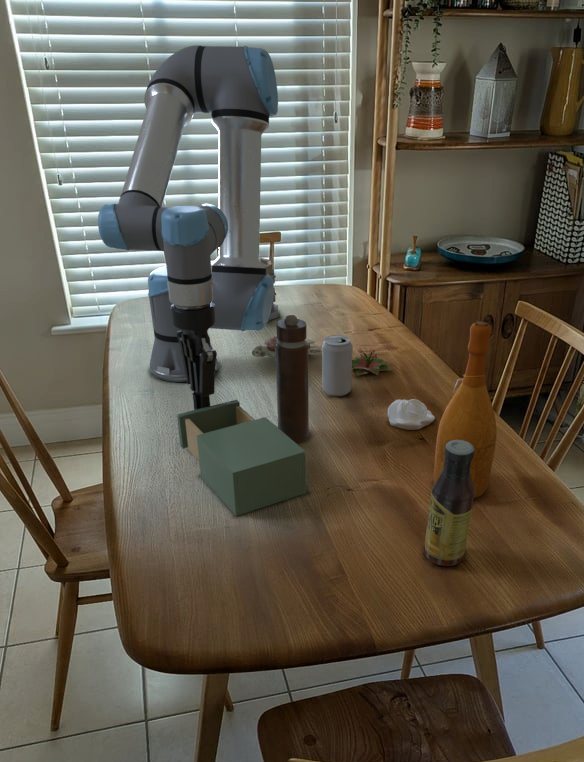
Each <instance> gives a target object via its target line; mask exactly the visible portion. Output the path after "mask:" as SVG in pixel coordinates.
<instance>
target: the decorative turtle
mask: <svg viewBox="0 0 584 762" xmlns="http://www.w3.org/2000/svg"><path fill="white" fill-rule="evenodd" d="M277 341H278V339H277V335H275V336H273V337H270V338H267V339H265V340H264V341H263V344H262V345H257V346H255V347H253V349H252V351H251V354H252V356H254V357H257V358H264V357H270V358H273V359H274V360H275V361H276V352H275V343H276V342H277ZM305 341H307V342H308V355H311V356H312V355H313V356H316V355H317V356H318V355H320V354H322V348H314V347H311V345H313V344H315V343H316V341H315V340H311V339H307V340H306V339H305Z"/></svg>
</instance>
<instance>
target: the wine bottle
mask: <svg viewBox="0 0 584 762" xmlns="http://www.w3.org/2000/svg"><path fill="white" fill-rule="evenodd" d="M492 332H493V329H492V325H491V324H489V323H488V322H485V321H476V322H474V323H472V324H471V326H470V328H469V340H468V341H469V342H468V344H467V351H468V359H467V365H466V368H465V372H464V374H462V376H463V377H461V378H457V379H456V382H455V384H454V387H453V392H452V393H454V394H453V396H452V397H451V399H450V400H449V402H448V404H447V406H446V408H445V410H444V411H443V414H442V416H441V419H440V421H439V426H438V429H437V435H436V443H435V453H434V466H433V467H434V468H433V486H434V485H435V483H436V481H437V479H438V478H439V476H440V474H441V472H442V470H443V467H444V460H445V454H444V451H445V446H446V444H447V443H448V442H450V441H453V440H463V441H466V442H469V443H471V444H472V445H473V447H474V457H473V458H472V460H471V466H470V474H469V476H470V478H471V479H472V481H473V484H474V489H475V492H474V498H473V499H477V498H479V497H480V496H483V494H485V492H486V491H487V489H488V486H489V482H490V478H491V473H492V467H493V461H494V456H495V450H496V443H497V428H498V427H497V419H496V415H495V414H496V413H495V411H494V407H493V403H492V400H491V397H490V394H489V392H488V391H489V390H488V387H487V383H486V372H485V371H486V370H485V368H486V361H487V354H488V353H489V351H490V340H491V336H492Z"/></svg>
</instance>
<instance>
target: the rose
mask: <svg viewBox="0 0 584 762" xmlns="http://www.w3.org/2000/svg"><path fill="white" fill-rule="evenodd" d="M386 413H387V417H388V422H389V424H390V426H392V427H396V428H399V429H403V430H409V431H410V430H411V431H412V430H413V431H415V430H420V429H422V428H424V427H427V426H429V425H430V424H432V423H433V422H434V421H435V419H436V417H435V415H433V413H432V412H431V410H429V409H428V407H427V405H426V404H425V403H423V402H422V401H420V400H419V399H417V398H412V399H395V400H394V401H392V402H391V403H390V404H389V406H388V408H387V412H386Z"/></svg>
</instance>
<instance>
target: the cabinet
mask: <svg viewBox="0 0 584 762" xmlns="http://www.w3.org/2000/svg"><path fill="white" fill-rule="evenodd" d="M197 444H198V454H199V461H198V462H199V473H200V477H201V478H202V480H203V481H204V482H205V483H206V484H207V485H208V486H209V487H210V488H211V490H212V491H213V492H214V493H215V494H216V495H217V497H218V498H219V499H220V501H222V502H223V503H224V504H225V506H226V507H227V508H228V509H229V510H230V511H231V512H232V514H234V516H236V517H238V516H241V515H244V514H246V513H250V512H253V511H257V510H260V509H261V508H262V509H263V508H265V507H268V506H271V505H274V504H277V503H280V502H283V501H286V500H290V499H293V498H296V497H299V496H302V495H305V494H306V493H307V477H306V476H307V473H306V472H307V469H306V468H307V465H306V461H307V459H306V450H304V449H303V448H302V447H301V446H300V445H298V443H295V442H294V441H293V440H291V439H290V438H289V437H288V436H287V435H286V434H285V433H283V432H282V431H281V430H280V429H279V428H278V426H276V425H275V424H274V423H273V422H272V421H270V420H269V418H267V416H263V417H261V418H260V417H259V418H257V419H255V420H253V421H249V422H245V423H241V424H238V425H234V426H230V427H226V428H222V429H219V430H215V431H211V432H207V433H204V434H200V435H197Z"/></svg>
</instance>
